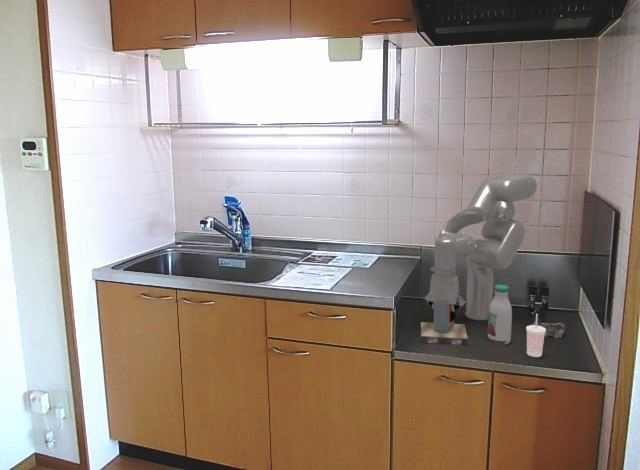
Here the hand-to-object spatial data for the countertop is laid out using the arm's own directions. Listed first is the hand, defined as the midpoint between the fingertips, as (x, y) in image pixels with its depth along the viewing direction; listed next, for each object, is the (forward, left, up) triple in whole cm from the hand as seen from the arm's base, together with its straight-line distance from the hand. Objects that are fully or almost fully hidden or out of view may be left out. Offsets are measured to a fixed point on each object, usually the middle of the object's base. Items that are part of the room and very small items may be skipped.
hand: (444, 319), depth 203 cm
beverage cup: (-29, +15, -5) cm, 33 cm away
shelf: (0, +4, -5) cm, 7 cm away
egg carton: (-37, -4, -6) cm, 38 cm away
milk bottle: (-19, +5, -5) cm, 20 cm away
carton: (0, 0, -3) cm, 3 cm away
